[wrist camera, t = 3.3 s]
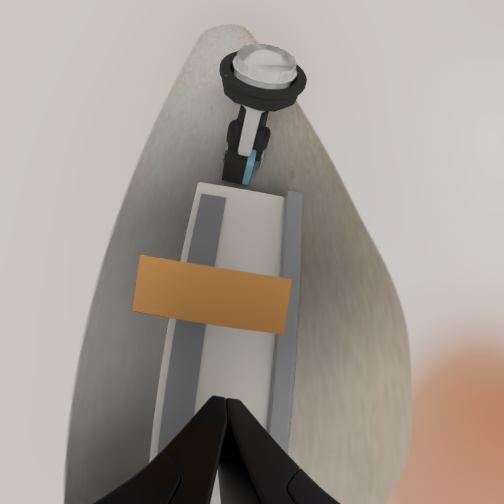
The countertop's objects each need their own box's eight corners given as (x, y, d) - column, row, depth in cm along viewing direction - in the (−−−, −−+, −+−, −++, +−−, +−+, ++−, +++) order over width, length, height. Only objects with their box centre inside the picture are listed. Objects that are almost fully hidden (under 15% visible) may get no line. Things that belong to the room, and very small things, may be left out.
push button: (219, 124, 27) (235, 25, 18) (279, 137, 28) (311, 42, 19) (201, 181, 24) (212, 69, 15) (270, 195, 24) (310, 91, 16)
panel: (268, 508, 15) (282, 526, 12) (150, 497, 14) (143, 514, 11) (292, 219, 24) (305, 193, 21) (196, 203, 23) (198, 174, 20)
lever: (245, 309, 18) (286, 338, 8) (172, 298, 17) (127, 313, 8) (249, 281, 18) (296, 275, 8) (177, 269, 17) (137, 249, 8)
